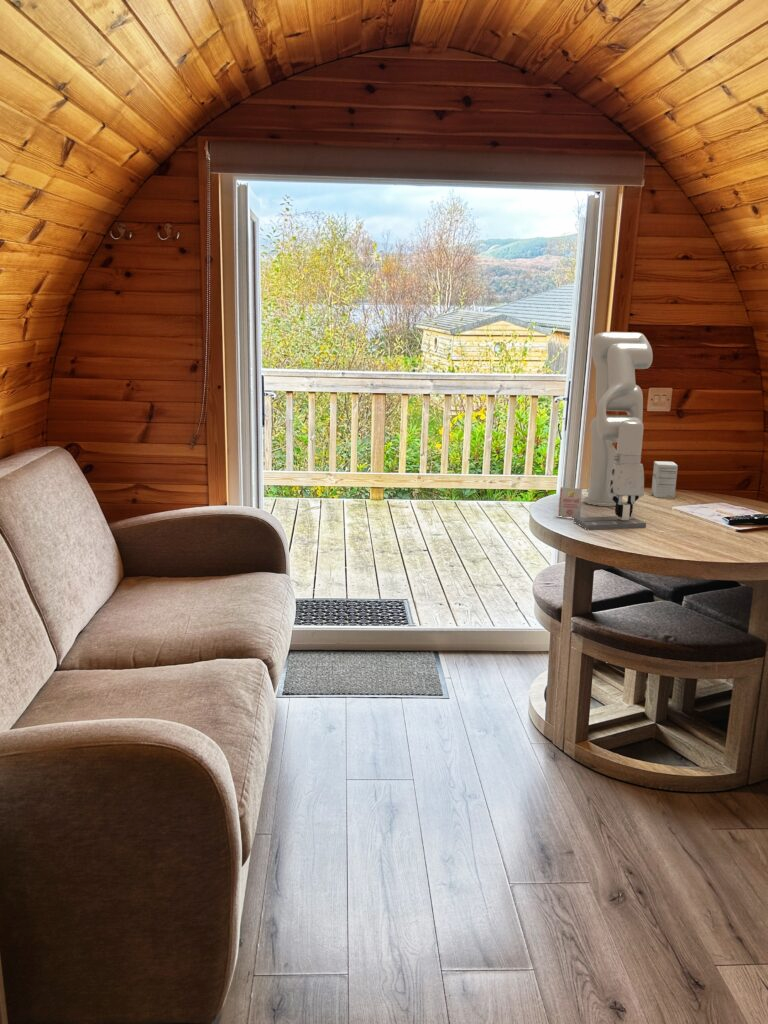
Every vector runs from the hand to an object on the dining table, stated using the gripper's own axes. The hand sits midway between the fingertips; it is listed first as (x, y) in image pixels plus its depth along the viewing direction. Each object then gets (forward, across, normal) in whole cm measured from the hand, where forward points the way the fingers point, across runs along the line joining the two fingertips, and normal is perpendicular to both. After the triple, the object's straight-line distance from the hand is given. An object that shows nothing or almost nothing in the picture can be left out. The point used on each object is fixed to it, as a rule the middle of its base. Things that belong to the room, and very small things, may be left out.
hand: (623, 515), depth 258 cm
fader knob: (+1, 0, 0) cm, 1 cm away
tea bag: (+3, -13, +12) cm, 18 cm away
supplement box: (+3, +36, +38) cm, 53 cm away
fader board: (+3, -5, 0) cm, 5 cm away
